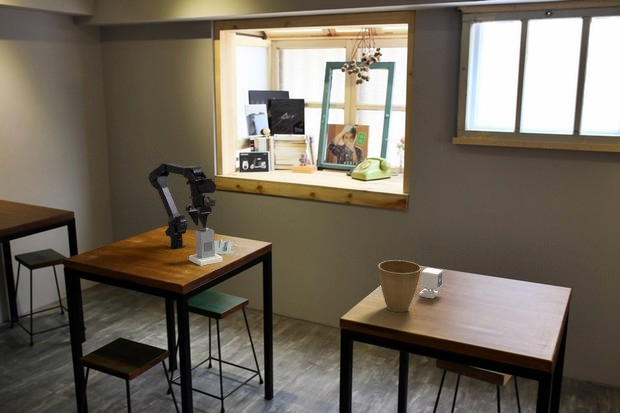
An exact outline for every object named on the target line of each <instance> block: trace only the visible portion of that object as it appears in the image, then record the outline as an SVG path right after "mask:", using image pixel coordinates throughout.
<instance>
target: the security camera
mask: <svg viewBox="0 0 620 413" xmlns="http://www.w3.org/2000/svg"><path fill="white" fill-rule="evenodd" d="M443 276H444V270H443V269H439V268H438V269H437V268H432V267H426V268H425V269H423V270H422V271H421V278H420V279H421V283H420V285H421V286H420V287H421V288H424V289H422V290H421V291H420V292H419V293H418V295H419V297H423V298H428V299H434V298H435V297H437V296H438V294H439V291H438V290H439V289H440V288H441V287H443V280H444V279H443V278H444V277H443Z"/></svg>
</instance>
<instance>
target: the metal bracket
mask: <svg viewBox="0 0 620 413" xmlns="http://www.w3.org/2000/svg"><path fill="white" fill-rule="evenodd" d="M233 241H234V240H223V238H221V240H214V244H215V254H217V255H227V256H228V255H229V256H231V255H232V256H233V254H234V255H235V254H236V253H235V252H236V251H235V250H232V248H233V247H232V246H233V243H234V242H233Z"/></svg>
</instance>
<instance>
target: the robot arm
mask: <svg viewBox="0 0 620 413" xmlns="http://www.w3.org/2000/svg"><path fill="white" fill-rule="evenodd" d="M170 174H175V175H179V176H180V175H181V176H183V177H184V178H185V179H187V181H186V182H185V185H188V186H189V193H190V195H189V197H188V198H189V199H190V200H191V204H187V205H185V211H186V212H187V214H188V215H189V217H190V219H191V220H192V222H193V223H194V225H195V226H197V227H198V226H199V222H200V223H201V226H202V228H203V227H207V223H208V216H209V215H210V214H211V213H212V212H213V207H214V208H215V207H216V202H217V199H211V197H210V196H206V195H205V194H214V193H215V192H216V191H217V190H216V189H217V184H216V183H215V181H213V179H212V177H209V178H208V177H207V175H206V174H205V172H204V171H203V170H202V167H201V166H199V165H192V166H186V165H181V164H176V163H171V162H169V161H168V162H162V163H160V165H159V166H158V167H156V168H154V169H153V170H152V171H151V172H150V173H149V175H148V181H149V183H150V185H151V187H153V188H154V189H156V190H157V192H158V195H159V197H160V199H161V201H162V202H161V203H162V204H163V207H164V209H165V212H166V214H167V216H168V219H167V225H168V227H167V229H166V230H165V231H164V232H165V236H166V237H169V245H167V247H168V248H169V249H173V250H177V249H181V248H185V247H186V245H184V244H183V243H184V239H183V235H185V234H186V233H187V230H188V221H187V220H186V219H187V218H186V217H185V214H180V212H179V211H178V209H177V207H176V204H175V202H174V200H173V197H172V194H171V193H170V192H171V191H170V190H169V188H168V185H169V179H168V178H169V176H170Z"/></svg>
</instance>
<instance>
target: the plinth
mask: <svg viewBox="0 0 620 413" xmlns="http://www.w3.org/2000/svg"><path fill="white" fill-rule="evenodd" d="M188 260H189V261H190V262H192V263H194V264H196V265H198V266H201V267H202V266H205V265H211V264H215V263H221V262H223V261H224V256H221V255H220V254H215V256H213V257H208V258H203V259H202V258H200V257H197V253H196V254H192V255H189V256H188Z"/></svg>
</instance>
